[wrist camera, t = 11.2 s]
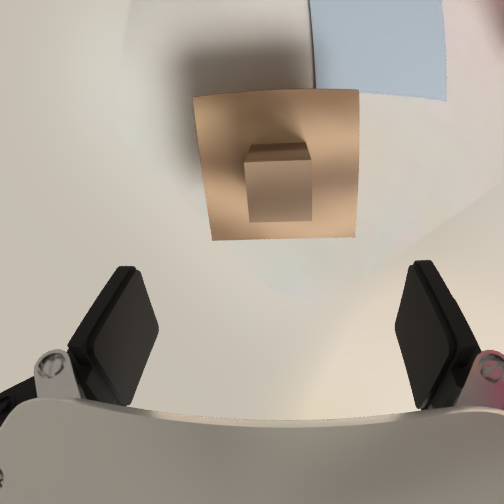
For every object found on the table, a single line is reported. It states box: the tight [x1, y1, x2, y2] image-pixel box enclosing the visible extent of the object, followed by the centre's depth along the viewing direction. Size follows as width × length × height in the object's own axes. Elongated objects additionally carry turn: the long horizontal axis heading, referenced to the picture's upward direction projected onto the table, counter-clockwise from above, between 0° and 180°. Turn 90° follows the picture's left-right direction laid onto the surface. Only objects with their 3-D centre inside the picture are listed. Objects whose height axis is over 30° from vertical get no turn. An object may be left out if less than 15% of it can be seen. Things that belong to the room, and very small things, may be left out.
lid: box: [193, 89, 359, 241], centre depth 22 cm, size 12×12×6 cm
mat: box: [309, 0, 446, 101], centre depth 22 cm, size 13×13×1 cm
